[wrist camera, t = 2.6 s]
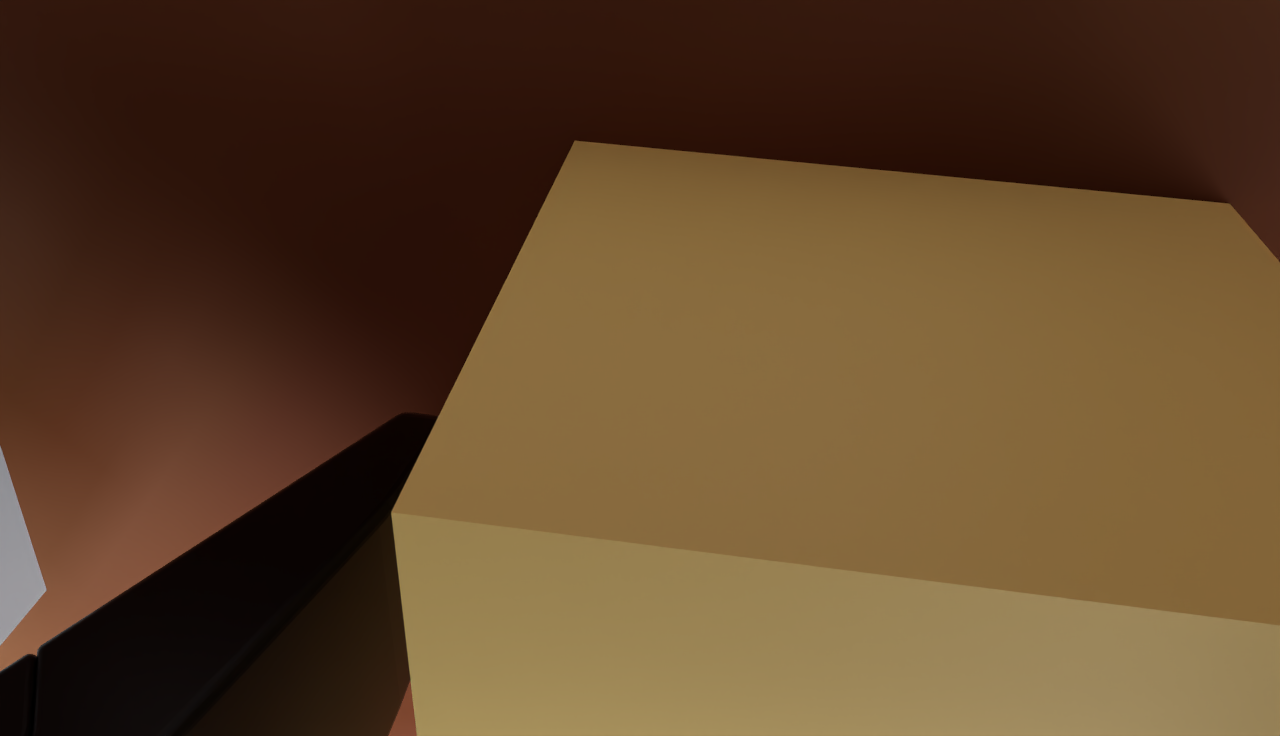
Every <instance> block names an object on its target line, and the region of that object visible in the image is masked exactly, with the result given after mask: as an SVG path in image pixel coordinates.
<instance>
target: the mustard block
mask: <svg viewBox="0 0 1280 736" xmlns="http://www.w3.org/2000/svg"><path fill="white" fill-rule="evenodd" d="M391 515H392V524H393V532H394V541H395V550H396V558H397V567H398V576H399V584H400V593H401V602H402V610H403V619H404V628H405V636H406V645H407V653H408V662H409V671H410V679H411V688H412V697H413V705H414V714H415V723H416V731H417V736H1280V262H1279V261H1278V259H1277V258H1276V257H1275V256H1274V255H1273V254H1272V252H1271V251H1270V250H1269V249H1268V248H1267V247H1266V245H1265V244H1264V243H1263V242H1262V241H1261V240H1260V238H1259V237H1258V236H1257V235H1256V234H1255V233H1254V231H1253V230H1252V229H1251V228H1250V227H1249V226H1248V224H1247V223H1246V222H1245V221H1244V220H1243V219H1242V217H1241V216H1240V215H1239V214H1238V213H1237V212H1236V210H1235V209H1234V208H1233V207H1232V206H1231V204H1229V203H1218V202H1208V201H1198V200H1187V199H1177V198H1166V197H1156V196H1146V195H1135V194H1125V193H1114V192H1104V191H1094V190H1083V189H1073V188H1062V187H1052V186H1042V185H1031V184H1021V183H1010V182H1000V181H990V180H979V179H969V178H958V177H948V176H938V175H927V174H917V173H906V172H896V171H886V170H875V169H865V168H854V167H844V166H834V165H823V164H813V163H802V162H792V161H782V160H771V159H761V158H750V157H740V156H730V155H719V154H709V153H698V152H688V151H678V150H667V149H657V148H646V147H636V146H626V145H615V144H605V143H594V142H584V141H574V143H573V145H572V147H571V149H570V151H569V153H568V155H567V157H566V159H565V161H564V163H563V165H562V167H561V169H560V171H559V173H558V175H557V177H556V180H555V182H554V184H553V186H552V188H551V190H550V192H549V194H548V196H547V198H546V200H545V202H544V204H543V206H542V208H541V210H540V212H539V214H538V216H537V218H536V220H535V222H534V224H533V226H532V228H531V230H530V232H529V234H528V236H527V238H526V240H525V242H524V244H523V246H522V248H521V250H520V252H519V254H518V256H517V259H516V261H515V263H514V265H513V267H512V269H511V271H510V273H509V275H508V277H507V279H506V281H505V283H504V285H503V287H502V289H501V291H500V293H499V295H498V297H497V299H496V301H495V303H494V305H493V307H492V309H491V311H490V313H489V315H488V317H487V319H486V321H485V323H484V325H483V327H482V329H481V331H480V333H479V335H478V337H477V340H476V342H475V344H474V346H473V348H472V350H471V352H470V354H469V356H468V358H467V360H466V362H465V364H464V366H463V368H462V370H461V372H460V374H459V376H458V378H457V380H456V382H455V384H454V386H453V388H452V390H451V392H450V394H449V396H448V398H447V400H446V402H445V404H444V406H443V408H442V410H441V412H440V414H439V416H438V419H437V421H436V423H435V425H434V427H433V429H432V431H431V433H430V435H429V437H428V439H427V441H426V443H425V445H424V447H423V449H422V451H421V453H420V455H419V457H418V459H417V461H416V463H415V465H414V467H413V469H412V471H411V473H410V475H409V477H408V479H407V481H406V483H405V485H404V487H403V489H402V491H401V493H400V495H399V497H398V500H397V502H396V504H395V506H394V508H393V510H392V512H391Z"/></svg>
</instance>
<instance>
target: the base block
mask: <svg viewBox="0 0 1280 736" xmlns="http://www.w3.org/2000/svg"><path fill="white" fill-rule="evenodd" d="M45 591H46V587H45V584H44V581H43V578H42V574H41V571H40V568H39V565H38V562H37V559H36V556H35V553H34V549H33V546H32V543H31V540H30V537H29V534H28V531H27V528H26V525H25V521H24V518H23V515H22V512H21V509H20V506H19V503H18V500H17V496H16V493H15V490H14V487H13V484H12V481H11V478H10V475H9V472H8V468H7V465H6V462H5V459H4V456H3V453H2V450H1V447H0V645H1V644H2V643H3V642H4V640H5V639H6V638H7V637H8V636H9V634H10V633H11V632H12V631H13V630H14V628H15V627H16V626H17V625H18V624H19V623H20V621H21V620H22V619H23V618H24V617H25V615H26V614H27V613H28V612H29V611H30V609H31V608H32V607H33V606H34V605H35V603H36V602H37V601H38V600H39V599H40V597H41V596H42V595H43V594H44V593H45Z"/></svg>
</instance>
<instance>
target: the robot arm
mask: <svg viewBox="0 0 1280 736" xmlns="http://www.w3.org/2000/svg"><path fill="white" fill-rule="evenodd" d="M437 419H438V416H435V415H427V414H419V413H401V414H399V415H397V416H395V417H394V418H392V419H391V420H389V421H388V422H386V423H385V424H383V425H381V426H380V427H378V428H377V429H375V430H374V431H372V432H371V433H369V434H368V435H366V436H364V437H363V438H361V439H360V440H358V441H357V442H355V443H354V444H352V445H351V446H349V447H347V448H346V449H344V450H343V451H341V452H340V453H338V454H337V455H335V456H334V457H332V458H330V459H329V460H327V461H326V462H324V463H323V464H321V465H320V466H318V467H316V468H315V469H313V470H312V471H310V472H309V473H307V474H306V475H304V476H303V477H301V478H299V479H298V480H296V481H295V482H293V483H292V484H290V485H289V486H287V487H286V488H284V489H282V490H281V491H279V492H278V493H276V494H275V495H273V496H272V497H270V498H269V499H267V500H265V501H264V502H262V503H261V504H259V505H258V506H256V507H255V508H253V509H252V510H250V511H248V512H247V513H245V514H244V515H242V516H241V517H239V518H238V519H236V520H235V521H233V522H231V523H230V524H228V525H227V526H225V527H224V528H222V529H221V530H219V531H218V532H216V533H214V534H213V535H211V536H210V537H208V538H207V539H205V540H204V541H202V542H200V543H199V544H197V545H196V546H194V547H193V548H191V549H190V550H188V551H187V552H185V553H183V554H182V555H180V556H179V557H177V558H176V559H174V560H173V561H171V562H170V563H168V564H166V565H165V566H163V567H162V568H160V569H159V570H157V571H156V572H154V573H153V574H151V575H149V576H148V577H146V578H145V579H143V580H142V581H140V582H139V583H137V584H136V585H134V586H132V587H131V588H129V589H128V590H126V591H125V592H123V593H122V594H120V595H119V596H117V597H115V598H114V599H112V600H111V601H109V602H108V603H106V604H105V605H103V606H102V607H100V608H98V609H97V610H95V611H94V612H92V613H91V614H89V615H88V616H86V617H84V618H83V619H81V620H80V621H78V622H77V623H75V624H74V625H72V626H71V627H69V628H67V629H66V630H64V631H63V632H61V633H60V634H58V635H57V636H55V637H54V638H52V639H50V640H49V641H47V642H46V643H44V644H43V645H41V646H40V647H39V649H38V651H37V656H35V655H33V654H27V655H25V656H23V657H22V658H20V659H19V660H17V661H16V662H14V663H13V664H11V665H10V666H8V667H6V668H5V669H3V670H2V671H0V736H388V735H389V733H390V730H391V728H392V726H393V723H394V721H395V718H396V716H397V713H398V711H399V708H400V706H401V703H402V701H403V698H404V695H405V693H406V690H407V687H408V685H409V682H410V671H409V662H408V653H407V645H406V636H405V628H404V619H403V610H402V602H401V593H400V584H399V576H398V567H397V558H396V550H395V541H394V532H393V524H392V515H391V512H392V510H393V508H394V506H395V504H396V502H397V500H398V497H399V495H400V493H401V491H402V489H403V487H404V485H405V483H406V481H407V479H408V477H409V475H410V473H411V471H412V469H413V467H414V465H415V463H416V461H417V459H418V457H419V455H420V453H421V451H422V449H423V447H424V445H425V443H426V441H427V439H428V437H429V435H430V433H431V431H432V429H433V427H434V425H435V423H436V421H437Z"/></svg>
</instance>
